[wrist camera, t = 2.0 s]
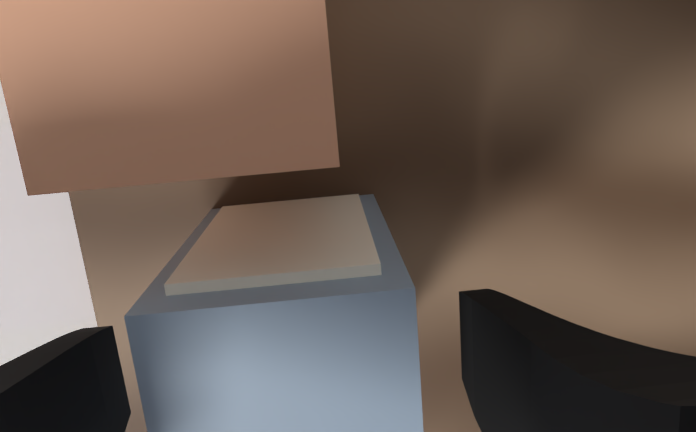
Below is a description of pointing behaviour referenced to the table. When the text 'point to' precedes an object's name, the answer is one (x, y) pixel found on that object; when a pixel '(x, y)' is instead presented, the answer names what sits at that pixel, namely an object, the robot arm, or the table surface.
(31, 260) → the table surface
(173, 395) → the slate carton
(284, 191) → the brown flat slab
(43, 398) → the robot arm
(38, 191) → the peach carton
